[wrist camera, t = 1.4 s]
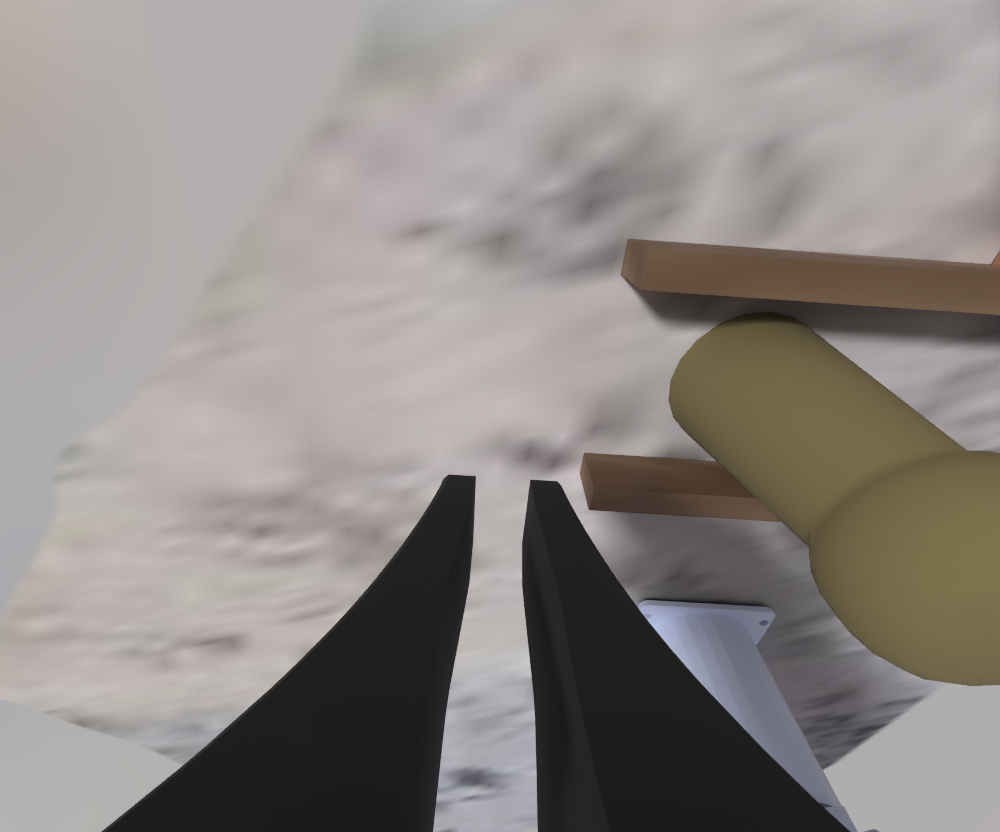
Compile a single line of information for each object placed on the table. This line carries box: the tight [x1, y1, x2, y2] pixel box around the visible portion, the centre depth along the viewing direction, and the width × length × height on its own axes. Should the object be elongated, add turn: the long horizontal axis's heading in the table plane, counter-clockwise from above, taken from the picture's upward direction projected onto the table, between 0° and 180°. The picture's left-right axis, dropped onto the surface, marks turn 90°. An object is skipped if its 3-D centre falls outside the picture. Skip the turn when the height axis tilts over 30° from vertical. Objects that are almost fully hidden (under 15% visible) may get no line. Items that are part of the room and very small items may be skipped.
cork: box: [669, 312, 1000, 686], centre depth 12 cm, size 6×6×11 cm
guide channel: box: [580, 239, 1000, 522], centre depth 15 cm, size 14×21×4 cm
